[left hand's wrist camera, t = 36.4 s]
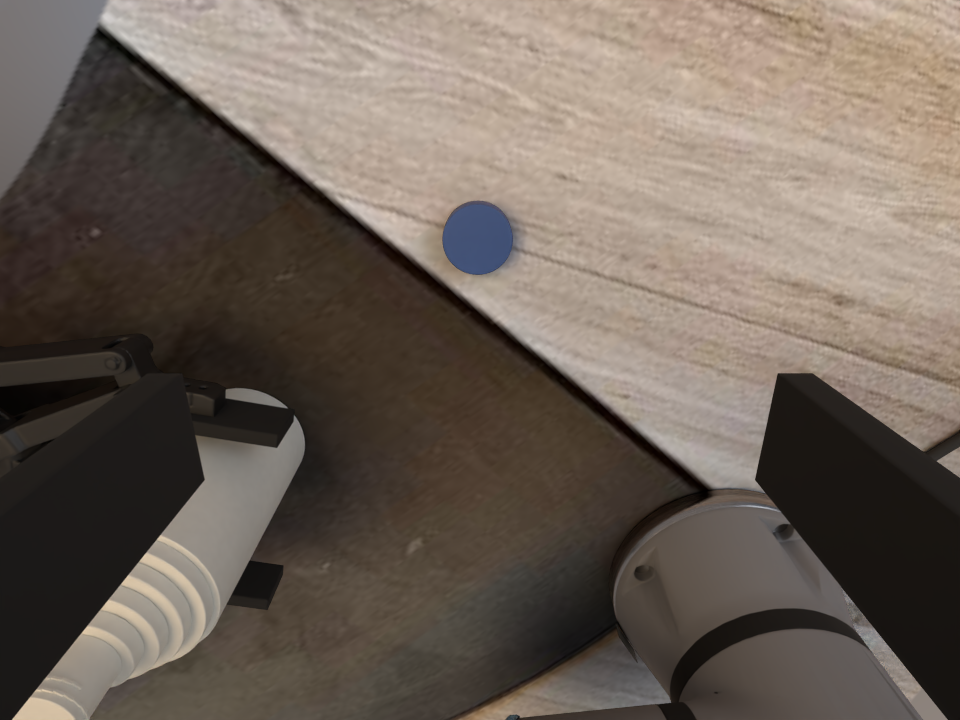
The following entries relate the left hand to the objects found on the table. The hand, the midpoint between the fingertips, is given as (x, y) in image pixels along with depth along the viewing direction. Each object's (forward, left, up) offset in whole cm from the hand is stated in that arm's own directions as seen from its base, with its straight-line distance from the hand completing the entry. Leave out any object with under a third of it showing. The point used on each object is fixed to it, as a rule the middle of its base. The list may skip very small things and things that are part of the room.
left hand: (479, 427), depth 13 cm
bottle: (+19, +6, -21) cm, 29 cm away
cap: (0, -1, -20) cm, 20 cm away
